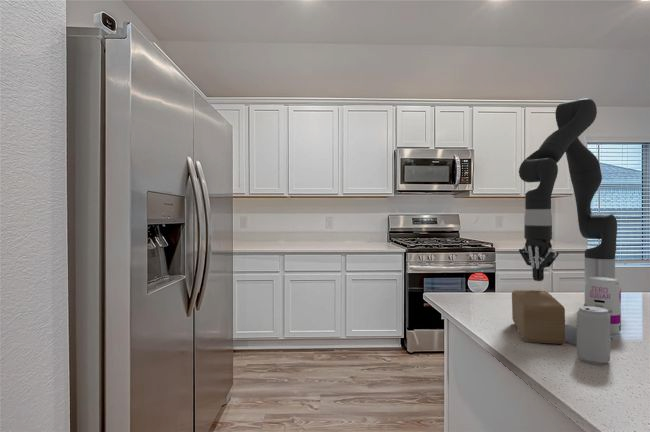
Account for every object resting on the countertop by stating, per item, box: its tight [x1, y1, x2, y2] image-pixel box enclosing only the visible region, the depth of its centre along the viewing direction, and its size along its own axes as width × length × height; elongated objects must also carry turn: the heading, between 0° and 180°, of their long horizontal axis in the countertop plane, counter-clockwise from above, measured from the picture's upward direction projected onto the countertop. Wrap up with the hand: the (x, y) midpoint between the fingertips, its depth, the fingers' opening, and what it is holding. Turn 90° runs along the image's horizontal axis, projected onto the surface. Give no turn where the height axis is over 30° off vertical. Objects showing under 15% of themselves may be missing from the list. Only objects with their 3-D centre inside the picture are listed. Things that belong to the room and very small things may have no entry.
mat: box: [565, 324, 614, 346], centre depth 114 cm, size 14×18×1 cm
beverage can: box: [576, 305, 611, 365], centre depth 93 cm, size 6×6×12 cm
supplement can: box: [585, 277, 622, 336], centre depth 116 cm, size 8×8×15 cm
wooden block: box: [511, 289, 566, 345], centre depth 114 cm, size 10×10×20 cm
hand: (537, 280), depth 124 cm, fingers closed
